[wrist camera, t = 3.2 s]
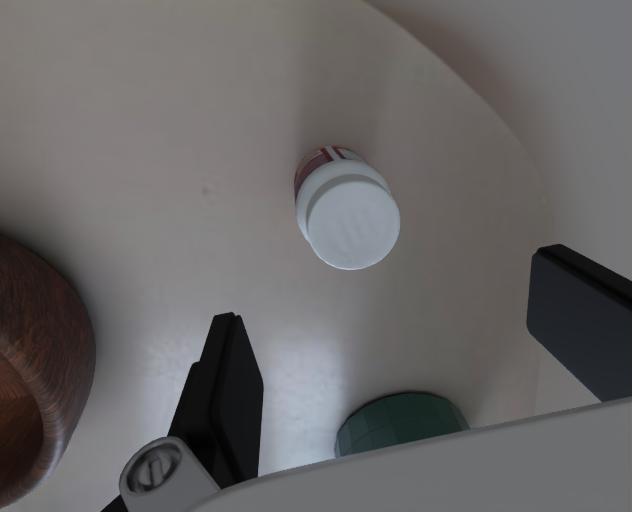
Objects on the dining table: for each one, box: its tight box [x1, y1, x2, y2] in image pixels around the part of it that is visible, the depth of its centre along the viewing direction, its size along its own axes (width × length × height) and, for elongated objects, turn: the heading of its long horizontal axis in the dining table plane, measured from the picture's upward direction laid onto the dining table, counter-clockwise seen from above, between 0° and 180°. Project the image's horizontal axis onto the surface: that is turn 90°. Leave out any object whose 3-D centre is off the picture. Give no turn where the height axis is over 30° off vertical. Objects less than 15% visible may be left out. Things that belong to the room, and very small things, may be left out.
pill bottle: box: [294, 146, 400, 270], centre depth 24 cm, size 6×6×11 cm
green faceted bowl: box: [335, 394, 470, 458], centre depth 40 cm, size 16×16×7 cm
